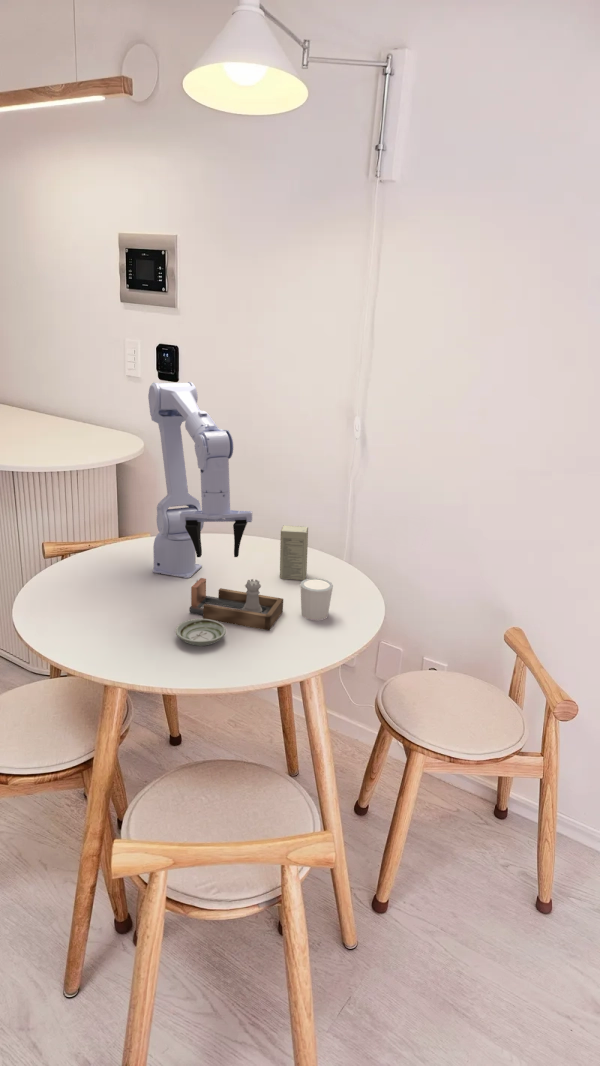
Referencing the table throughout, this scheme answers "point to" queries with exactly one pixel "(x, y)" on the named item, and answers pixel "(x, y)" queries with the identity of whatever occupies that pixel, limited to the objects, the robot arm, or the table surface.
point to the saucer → (200, 631)
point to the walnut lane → (241, 615)
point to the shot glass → (315, 598)
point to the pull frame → (212, 599)
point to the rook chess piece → (252, 597)
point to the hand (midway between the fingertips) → (217, 556)
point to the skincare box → (293, 552)
